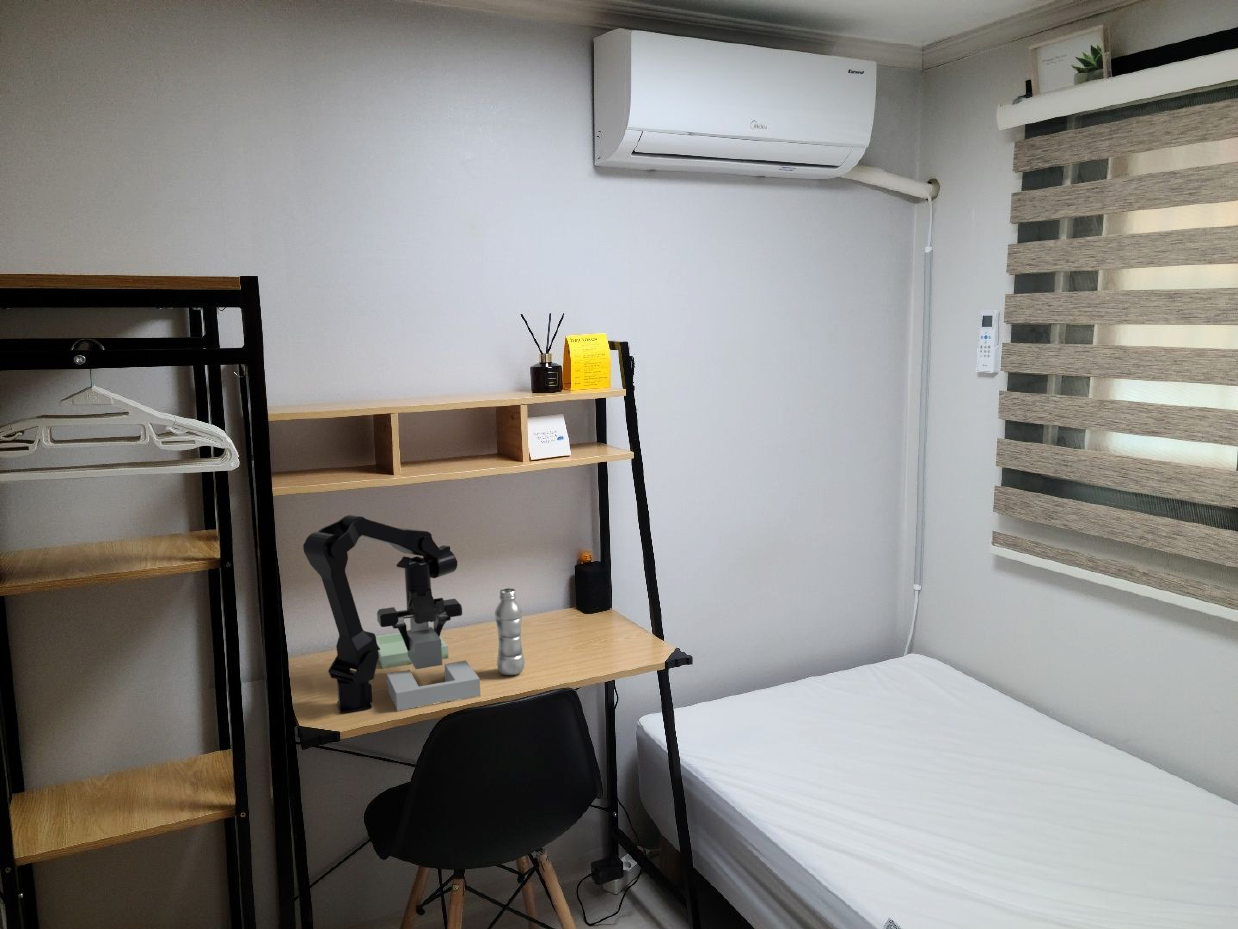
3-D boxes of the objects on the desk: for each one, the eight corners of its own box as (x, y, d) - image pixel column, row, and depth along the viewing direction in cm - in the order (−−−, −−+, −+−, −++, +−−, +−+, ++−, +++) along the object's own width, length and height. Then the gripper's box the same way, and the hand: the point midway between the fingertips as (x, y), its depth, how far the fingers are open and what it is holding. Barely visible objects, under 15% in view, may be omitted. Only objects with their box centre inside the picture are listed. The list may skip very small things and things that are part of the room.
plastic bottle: (499, 680, 206) (495, 595, 203) (495, 669, 212) (491, 588, 210) (527, 676, 208) (524, 593, 205) (522, 666, 214) (518, 585, 211)
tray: (382, 668, 215) (381, 656, 215) (372, 648, 230) (371, 636, 229) (448, 657, 221) (447, 646, 221) (435, 638, 236) (434, 627, 235)
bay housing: (397, 711, 190) (396, 693, 190) (387, 690, 202) (386, 673, 201) (480, 696, 197) (479, 678, 197) (466, 676, 209) (465, 660, 208)
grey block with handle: (415, 669, 201) (413, 628, 200) (407, 655, 210) (405, 616, 209) (442, 665, 204) (440, 624, 202) (433, 651, 213) (431, 612, 211)
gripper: (382, 597, 196) (386, 666, 198) (466, 586, 203) (469, 652, 205) (374, 585, 206) (379, 650, 208) (455, 574, 213) (458, 637, 216)
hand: (421, 648), depth 209 cm, fingers closed on grey block with handle, 6 cm apart
